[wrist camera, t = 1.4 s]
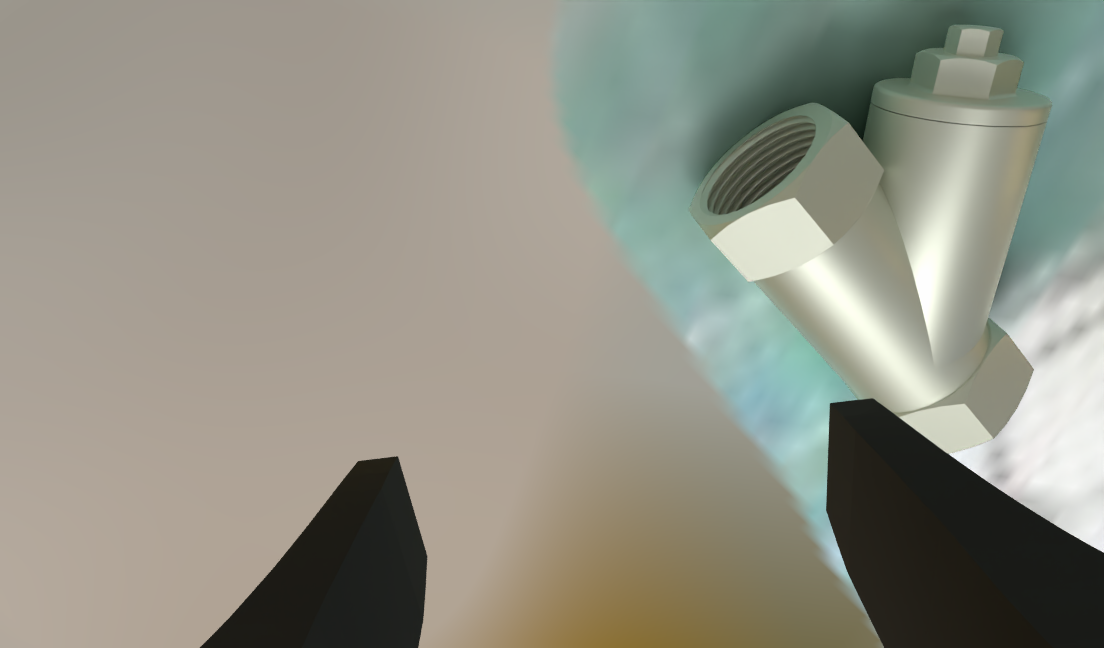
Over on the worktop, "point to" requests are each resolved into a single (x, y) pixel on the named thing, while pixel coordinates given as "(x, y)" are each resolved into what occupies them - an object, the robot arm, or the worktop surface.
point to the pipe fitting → (895, 233)
